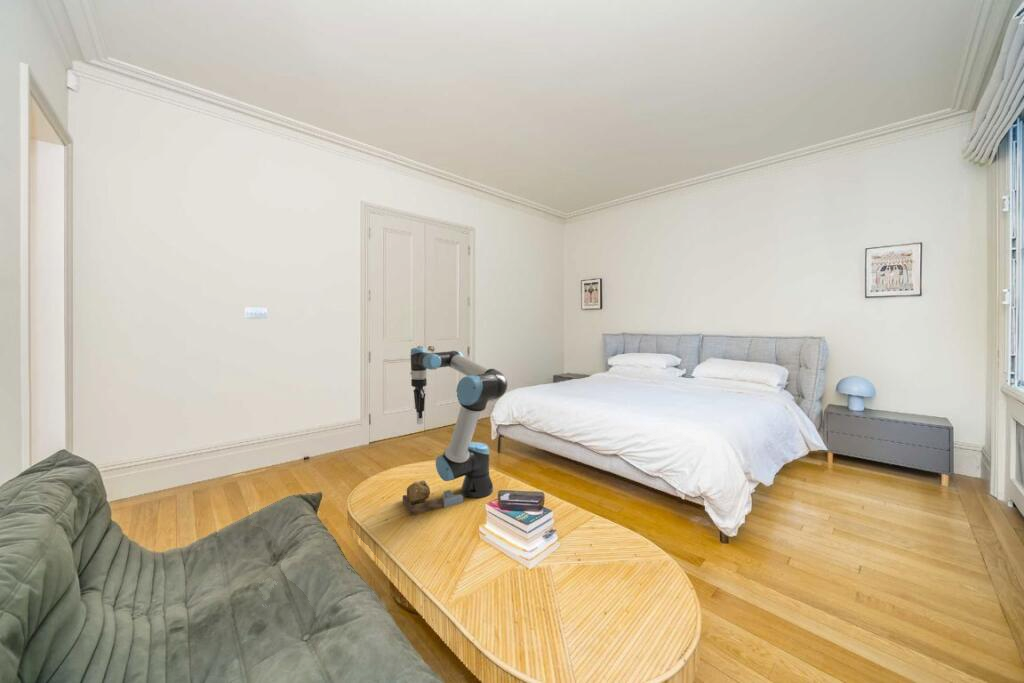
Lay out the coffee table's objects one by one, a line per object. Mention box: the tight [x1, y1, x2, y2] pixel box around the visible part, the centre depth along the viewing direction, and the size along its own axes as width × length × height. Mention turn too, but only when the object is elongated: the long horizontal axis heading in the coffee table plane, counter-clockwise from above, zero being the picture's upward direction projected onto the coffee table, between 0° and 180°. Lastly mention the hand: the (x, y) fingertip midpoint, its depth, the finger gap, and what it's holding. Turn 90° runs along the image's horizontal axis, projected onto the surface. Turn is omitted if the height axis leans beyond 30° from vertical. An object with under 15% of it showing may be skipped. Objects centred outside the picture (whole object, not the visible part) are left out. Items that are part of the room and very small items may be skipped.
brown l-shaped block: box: [402, 494, 444, 516], centre depth 176 cm, size 15×12×4 cm
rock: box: [406, 480, 431, 505], centre depth 178 cm, size 12×10×10 cm
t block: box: [442, 489, 464, 508], centre depth 180 cm, size 9×9×3 cm
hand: (419, 423), depth 200 cm, fingers closed
